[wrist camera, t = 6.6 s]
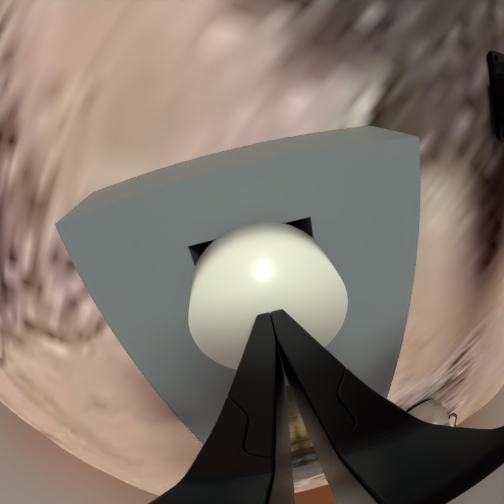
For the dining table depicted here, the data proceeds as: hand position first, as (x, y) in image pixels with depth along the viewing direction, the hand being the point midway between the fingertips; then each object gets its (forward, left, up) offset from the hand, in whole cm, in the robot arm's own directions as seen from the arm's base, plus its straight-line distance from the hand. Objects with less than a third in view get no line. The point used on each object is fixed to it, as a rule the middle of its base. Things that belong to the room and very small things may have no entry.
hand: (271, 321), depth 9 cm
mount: (0, +9, -6) cm, 11 cm away
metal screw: (0, +9, -2) cm, 9 cm away
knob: (0, 0, -6) cm, 6 cm away
